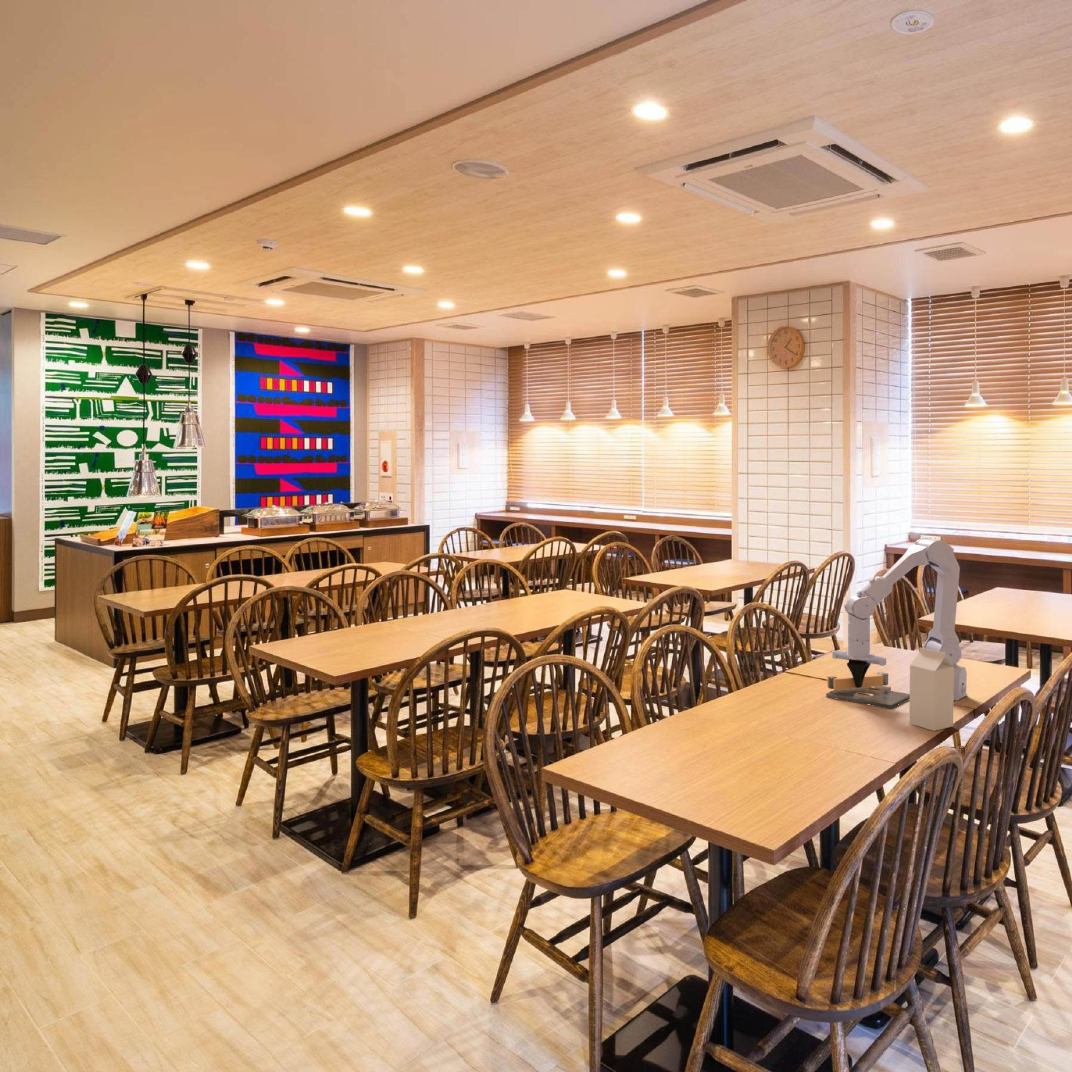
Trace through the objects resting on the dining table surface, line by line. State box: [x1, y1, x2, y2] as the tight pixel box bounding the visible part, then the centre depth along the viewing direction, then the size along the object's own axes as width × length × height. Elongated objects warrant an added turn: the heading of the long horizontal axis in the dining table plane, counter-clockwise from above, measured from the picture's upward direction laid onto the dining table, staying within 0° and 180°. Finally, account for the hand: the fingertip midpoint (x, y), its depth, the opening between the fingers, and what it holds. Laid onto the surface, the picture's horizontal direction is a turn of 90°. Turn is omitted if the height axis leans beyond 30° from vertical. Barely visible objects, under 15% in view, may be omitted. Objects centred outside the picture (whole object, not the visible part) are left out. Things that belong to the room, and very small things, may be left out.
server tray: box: [825, 685, 910, 710], centre depth 232 cm, size 18×18×2 cm
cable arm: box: [826, 671, 889, 690], centre depth 236 cm, size 18×4×3 cm, turn 101°
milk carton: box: [908, 647, 955, 732], centre depth 204 cm, size 7×7×19 cm
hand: (858, 687), depth 232 cm, fingers closed
